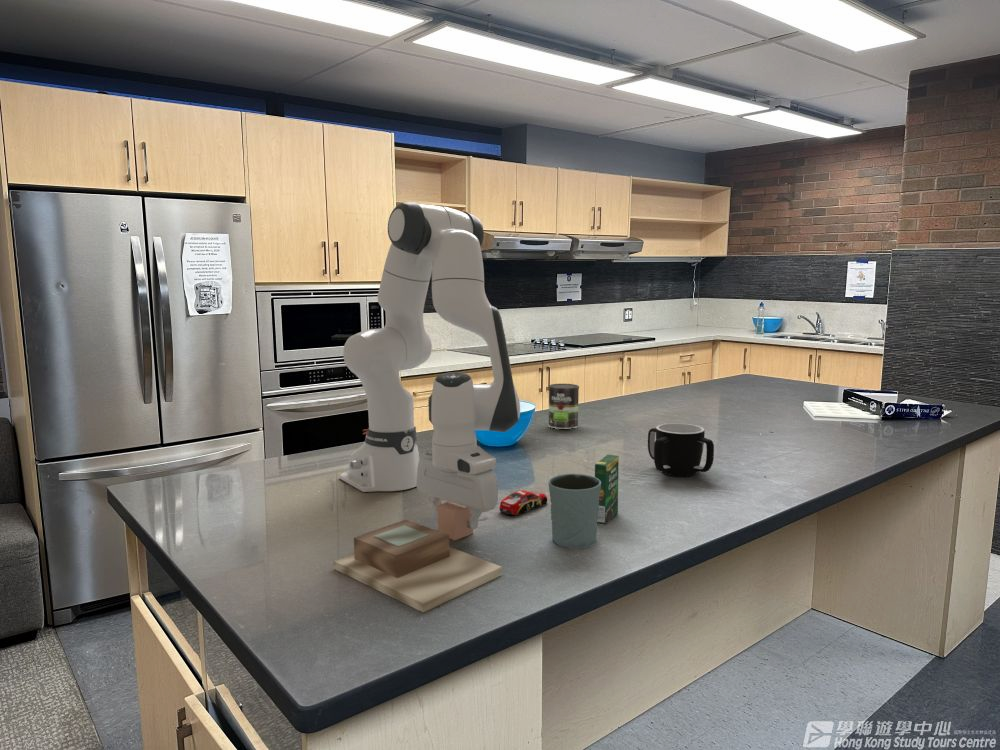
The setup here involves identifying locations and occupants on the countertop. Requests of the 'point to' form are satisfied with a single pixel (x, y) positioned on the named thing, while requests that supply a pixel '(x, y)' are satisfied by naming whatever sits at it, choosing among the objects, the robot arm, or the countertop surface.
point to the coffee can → (563, 406)
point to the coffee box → (607, 488)
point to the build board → (425, 579)
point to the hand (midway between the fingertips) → (455, 522)
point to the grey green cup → (574, 509)
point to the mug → (679, 449)
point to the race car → (522, 502)
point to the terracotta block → (453, 520)
